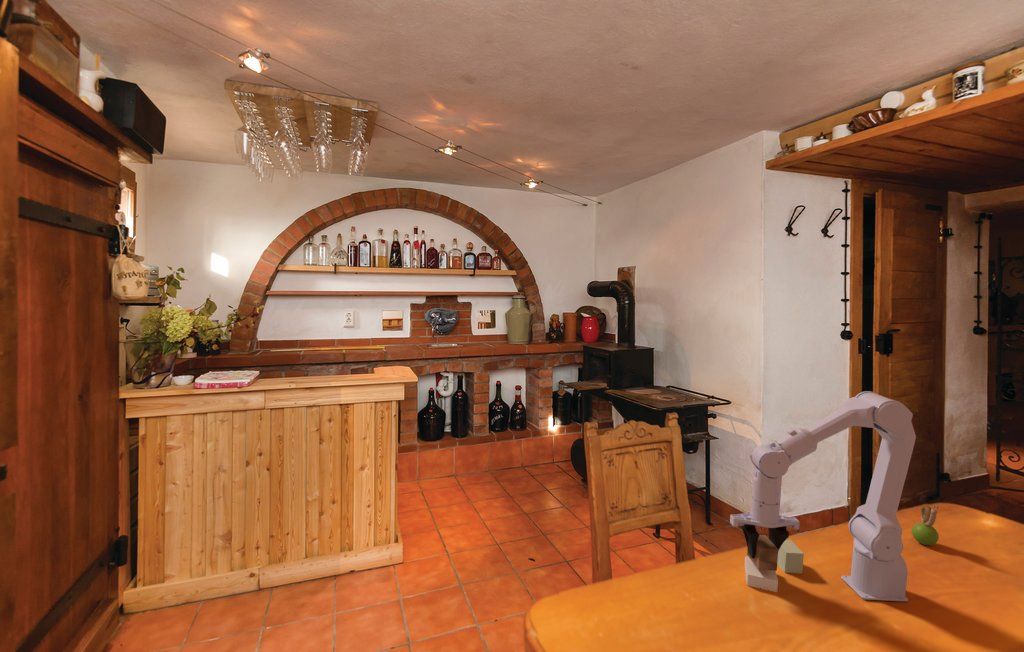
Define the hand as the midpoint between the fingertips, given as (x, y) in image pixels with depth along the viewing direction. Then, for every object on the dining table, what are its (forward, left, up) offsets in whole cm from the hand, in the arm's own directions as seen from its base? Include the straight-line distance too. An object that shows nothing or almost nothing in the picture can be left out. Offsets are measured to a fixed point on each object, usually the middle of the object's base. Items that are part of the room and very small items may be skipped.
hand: (761, 556), depth 110 cm
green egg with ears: (-51, -19, -6) cm, 55 cm away
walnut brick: (0, 0, -1) cm, 1 cm away
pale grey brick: (0, 0, -6) cm, 6 cm away
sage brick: (-9, -6, -6) cm, 12 cm away
